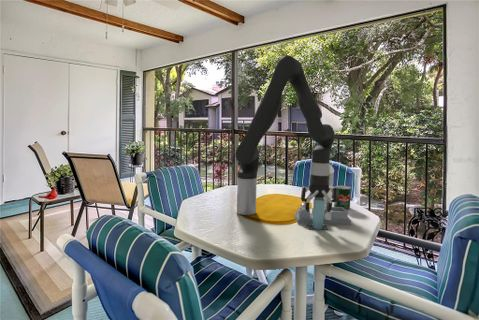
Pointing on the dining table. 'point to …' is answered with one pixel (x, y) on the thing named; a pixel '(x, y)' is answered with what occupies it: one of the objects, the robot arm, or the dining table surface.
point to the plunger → (303, 206)
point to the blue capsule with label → (318, 213)
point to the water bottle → (329, 187)
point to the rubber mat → (316, 229)
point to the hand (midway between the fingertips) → (317, 211)
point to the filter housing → (333, 217)
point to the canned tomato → (343, 197)
